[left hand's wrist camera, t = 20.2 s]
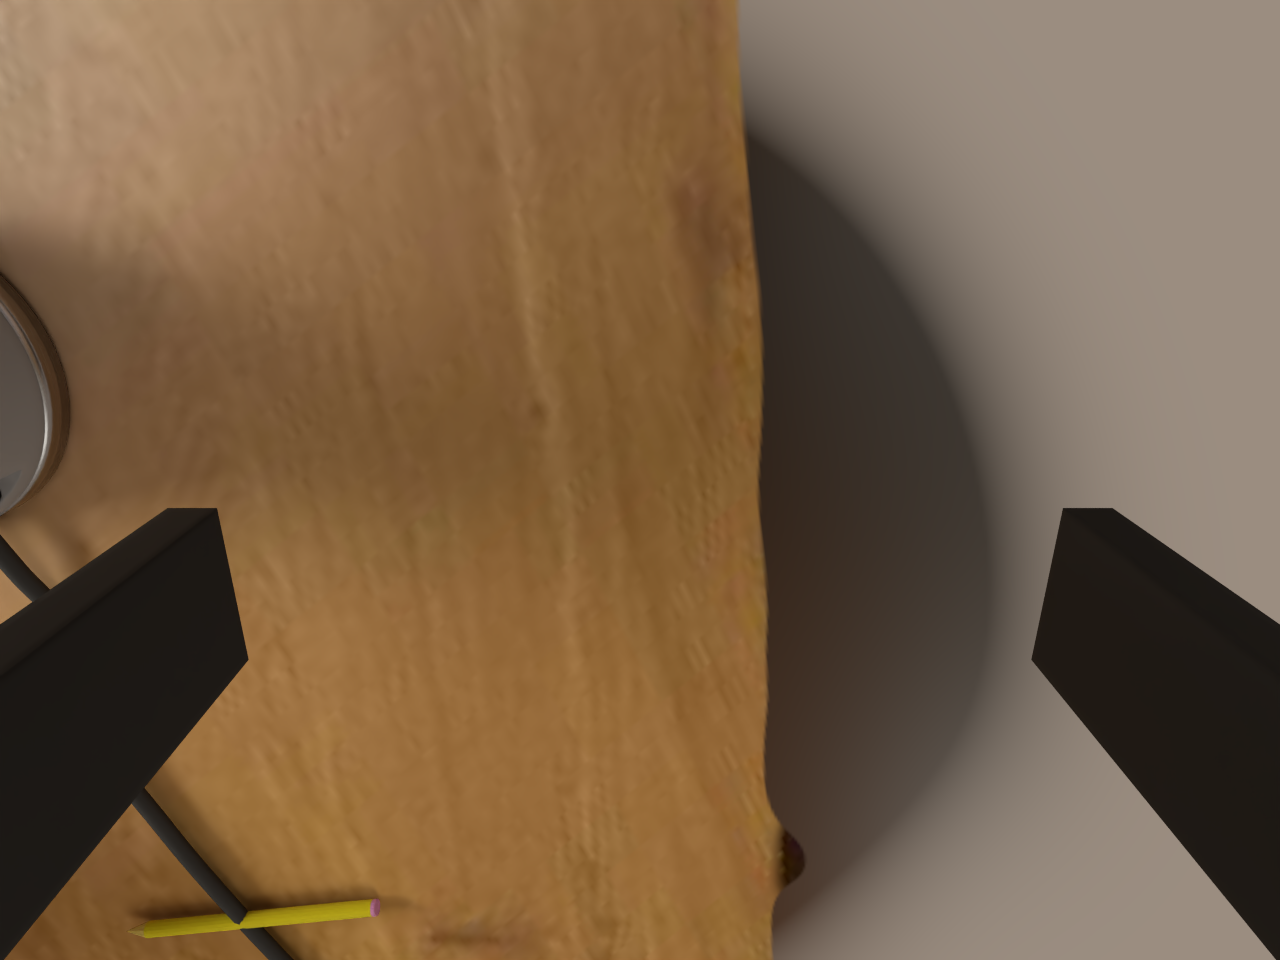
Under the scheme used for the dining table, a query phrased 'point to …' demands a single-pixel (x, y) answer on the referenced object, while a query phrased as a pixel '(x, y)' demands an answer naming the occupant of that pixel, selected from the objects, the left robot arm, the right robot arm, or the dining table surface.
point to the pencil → (259, 918)
